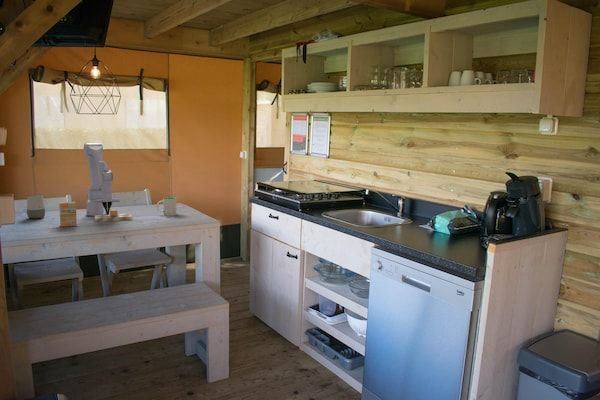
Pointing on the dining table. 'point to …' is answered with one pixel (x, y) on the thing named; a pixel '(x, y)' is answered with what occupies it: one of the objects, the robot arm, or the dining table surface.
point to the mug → (168, 206)
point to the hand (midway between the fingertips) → (107, 214)
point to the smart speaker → (35, 207)
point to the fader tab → (113, 212)
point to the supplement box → (68, 214)
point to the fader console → (112, 217)
